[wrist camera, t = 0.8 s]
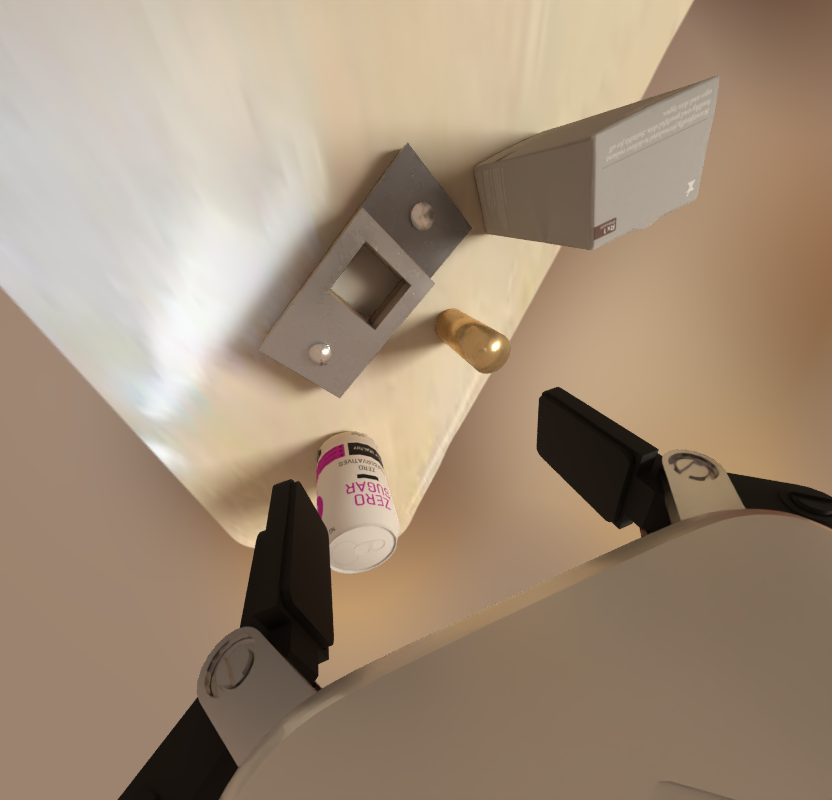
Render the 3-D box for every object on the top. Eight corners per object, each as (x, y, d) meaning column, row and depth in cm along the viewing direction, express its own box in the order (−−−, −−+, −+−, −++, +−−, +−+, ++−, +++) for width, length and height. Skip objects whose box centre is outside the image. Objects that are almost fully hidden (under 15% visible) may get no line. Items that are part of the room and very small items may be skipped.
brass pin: (451, 301, 34) (494, 324, 26) (472, 322, 37) (517, 350, 28) (428, 327, 35) (463, 358, 27) (450, 347, 37) (488, 380, 29)
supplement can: (323, 480, 42) (326, 586, 29) (311, 434, 38) (309, 535, 25) (379, 468, 44) (404, 563, 31) (373, 423, 40) (401, 511, 27)
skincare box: (542, 130, 29) (734, 47, 16) (550, 211, 33) (708, 198, 20) (466, 167, 28) (597, 114, 15) (484, 244, 32) (599, 254, 19)
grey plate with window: (401, 148, 26) (416, 134, 22) (463, 228, 31) (484, 227, 27) (264, 337, 31) (257, 352, 27) (337, 382, 35) (340, 400, 31)
